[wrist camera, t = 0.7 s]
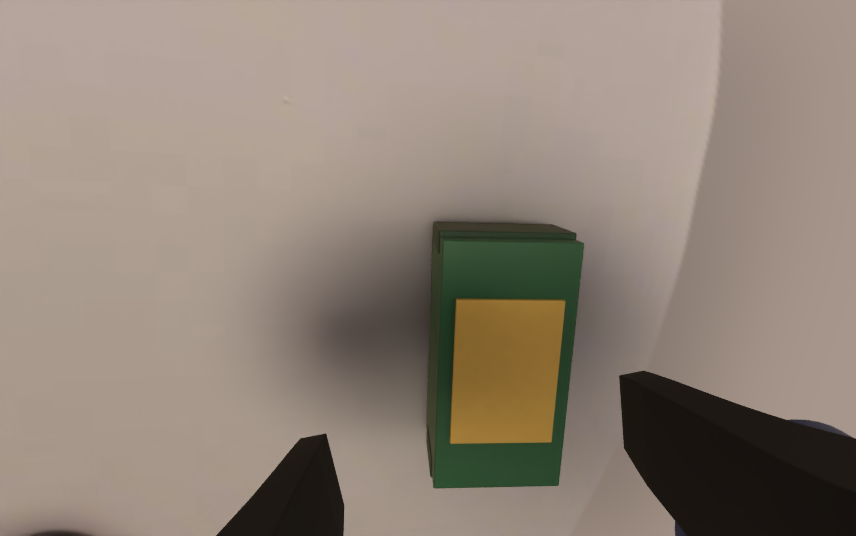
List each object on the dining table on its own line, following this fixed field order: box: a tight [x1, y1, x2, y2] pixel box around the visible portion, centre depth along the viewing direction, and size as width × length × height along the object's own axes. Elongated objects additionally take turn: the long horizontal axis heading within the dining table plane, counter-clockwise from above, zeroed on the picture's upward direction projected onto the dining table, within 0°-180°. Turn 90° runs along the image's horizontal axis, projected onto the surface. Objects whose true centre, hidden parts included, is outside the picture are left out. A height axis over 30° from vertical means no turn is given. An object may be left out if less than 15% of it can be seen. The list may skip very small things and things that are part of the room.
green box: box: [427, 222, 584, 488], centre depth 17 cm, size 9×5×4 cm, turn 178°
